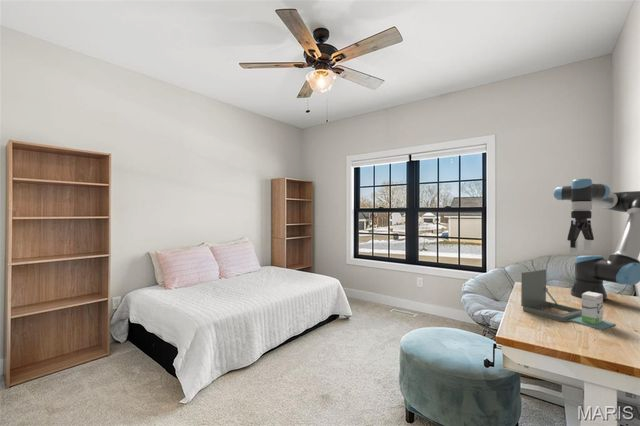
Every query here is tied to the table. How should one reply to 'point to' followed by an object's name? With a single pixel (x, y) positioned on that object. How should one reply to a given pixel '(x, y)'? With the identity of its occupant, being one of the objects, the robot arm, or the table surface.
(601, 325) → the mat
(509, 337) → the table surface
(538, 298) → the case
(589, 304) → the ink box
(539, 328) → the table surface
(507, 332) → the table surface
